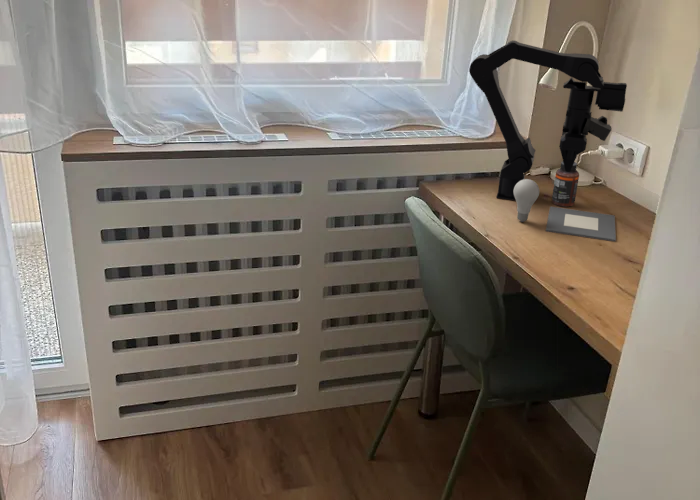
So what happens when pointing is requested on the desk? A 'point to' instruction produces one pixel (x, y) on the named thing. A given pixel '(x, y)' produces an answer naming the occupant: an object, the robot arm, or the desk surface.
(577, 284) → the desk surface
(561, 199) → the supplement bottle
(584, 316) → the desk surface
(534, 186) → the lightbulb
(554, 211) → the card
